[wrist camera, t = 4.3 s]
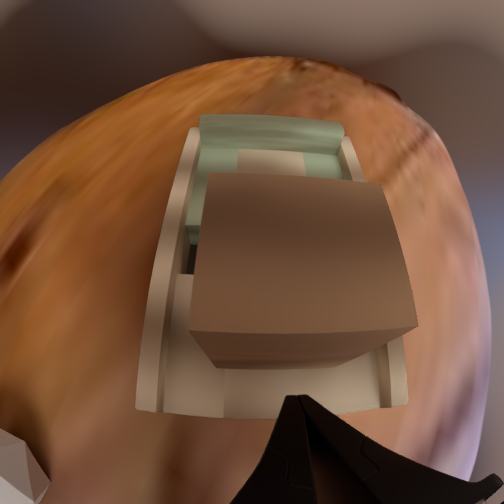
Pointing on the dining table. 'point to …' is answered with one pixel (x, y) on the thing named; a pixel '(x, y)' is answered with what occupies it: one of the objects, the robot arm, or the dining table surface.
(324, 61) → the dining table surface
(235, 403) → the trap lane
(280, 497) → the robot arm
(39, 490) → the die
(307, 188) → the walnut block
